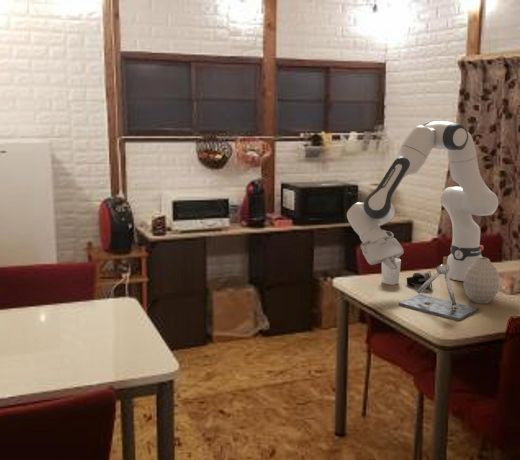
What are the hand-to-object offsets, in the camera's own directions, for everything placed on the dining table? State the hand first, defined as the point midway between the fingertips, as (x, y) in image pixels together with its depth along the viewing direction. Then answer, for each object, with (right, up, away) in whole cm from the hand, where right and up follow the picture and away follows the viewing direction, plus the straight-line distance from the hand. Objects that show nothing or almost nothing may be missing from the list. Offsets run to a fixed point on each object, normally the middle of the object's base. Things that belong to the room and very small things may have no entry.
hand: (394, 268), depth 230 cm
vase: (+32, -12, -1) cm, 34 cm away
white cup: (+3, -7, +23) cm, 24 cm away
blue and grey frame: (+14, -14, -10) cm, 22 cm away
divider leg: (+7, -8, -6) cm, 13 cm away
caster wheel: (+14, -9, +18) cm, 24 cm away
